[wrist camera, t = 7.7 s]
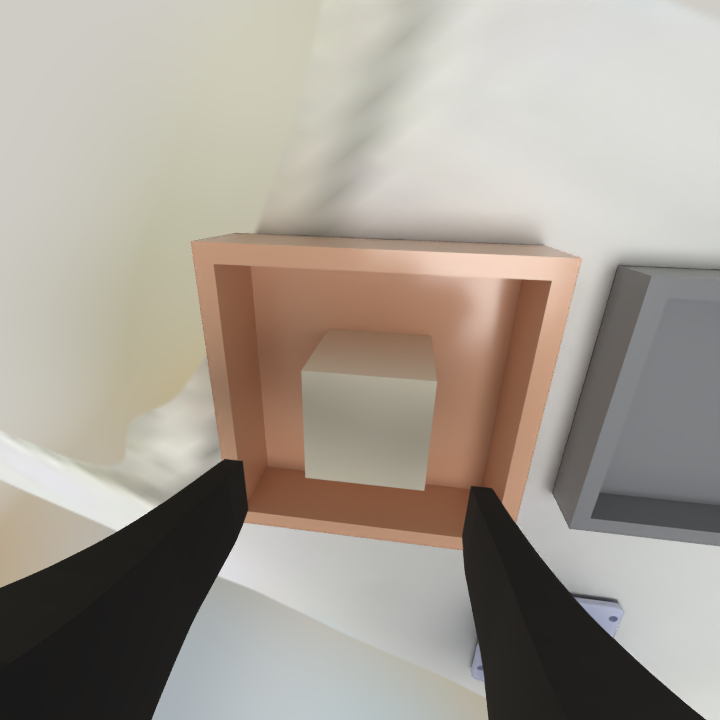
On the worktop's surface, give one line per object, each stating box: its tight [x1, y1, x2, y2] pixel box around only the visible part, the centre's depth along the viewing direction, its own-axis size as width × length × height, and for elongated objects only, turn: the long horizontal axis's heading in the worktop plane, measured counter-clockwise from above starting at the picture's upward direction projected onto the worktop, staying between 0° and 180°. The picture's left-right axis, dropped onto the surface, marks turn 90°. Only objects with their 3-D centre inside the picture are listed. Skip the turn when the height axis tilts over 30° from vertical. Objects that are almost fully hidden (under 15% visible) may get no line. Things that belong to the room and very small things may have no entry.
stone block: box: [301, 329, 437, 491], centre depth 17 cm, size 5×5×5 cm
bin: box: [191, 233, 582, 550], centre depth 18 cm, size 14×14×4 cm
